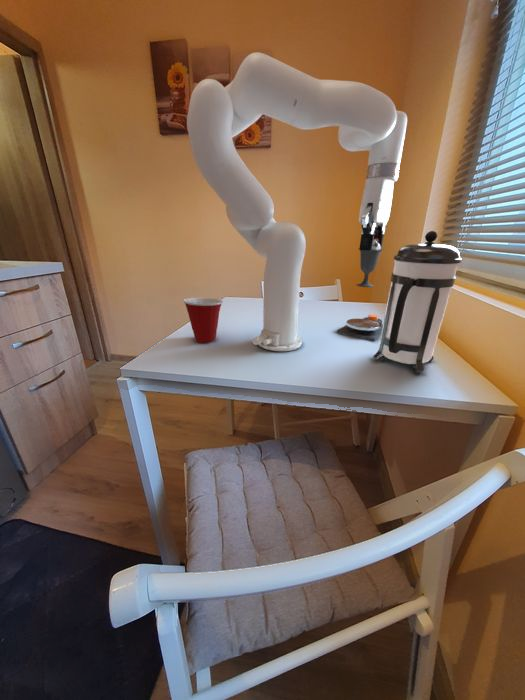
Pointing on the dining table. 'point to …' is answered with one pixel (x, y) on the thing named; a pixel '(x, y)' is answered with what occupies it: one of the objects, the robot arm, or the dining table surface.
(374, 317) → the tare button
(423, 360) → the coffee press
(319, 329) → the dining table surface
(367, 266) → the sundae
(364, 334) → the scale
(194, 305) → the plastic cup
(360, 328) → the pan
